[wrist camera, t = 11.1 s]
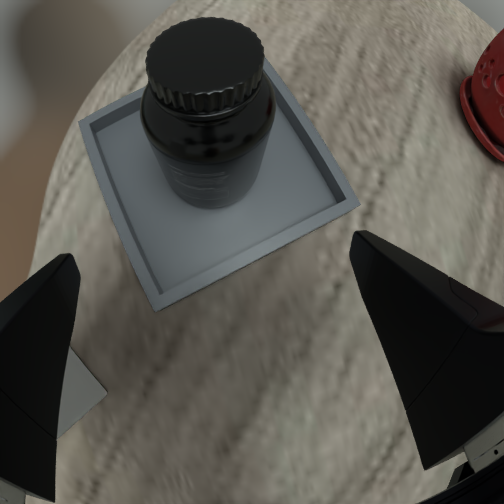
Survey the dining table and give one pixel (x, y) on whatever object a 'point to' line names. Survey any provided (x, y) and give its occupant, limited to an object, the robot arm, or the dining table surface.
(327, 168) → the charcoal tray
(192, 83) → the supplement bottle
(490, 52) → the plant pot
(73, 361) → the milk carton
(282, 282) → the dining table surface
